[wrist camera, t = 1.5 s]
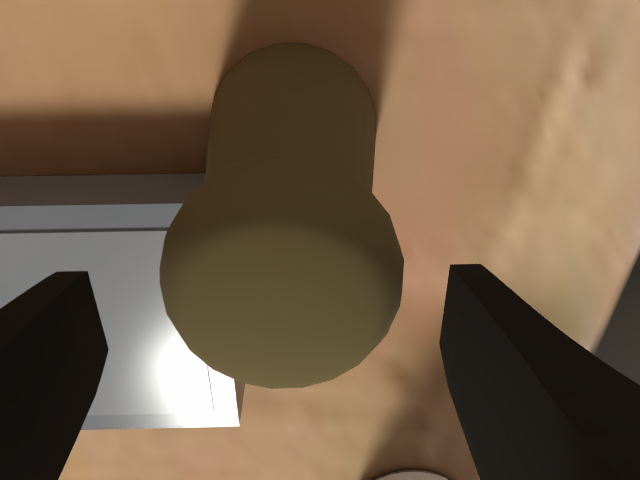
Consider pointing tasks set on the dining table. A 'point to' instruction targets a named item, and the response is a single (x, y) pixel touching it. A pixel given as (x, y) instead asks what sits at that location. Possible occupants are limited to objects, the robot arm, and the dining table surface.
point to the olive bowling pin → (285, 227)
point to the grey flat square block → (117, 290)
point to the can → (411, 475)
